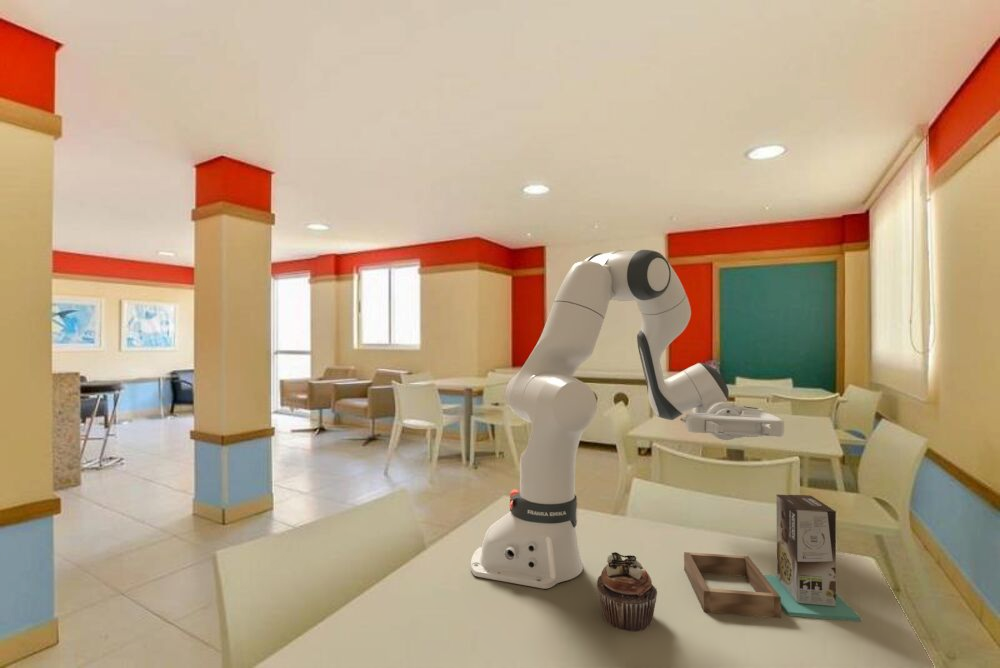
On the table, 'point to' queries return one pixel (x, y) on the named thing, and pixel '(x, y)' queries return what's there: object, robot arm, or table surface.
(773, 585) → the teal mat
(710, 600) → the walnut bin
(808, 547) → the coffee box
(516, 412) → the robot arm
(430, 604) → the table surface
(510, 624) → the table surface
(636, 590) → the cupcake
